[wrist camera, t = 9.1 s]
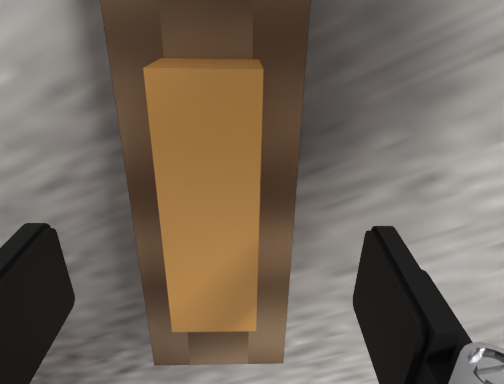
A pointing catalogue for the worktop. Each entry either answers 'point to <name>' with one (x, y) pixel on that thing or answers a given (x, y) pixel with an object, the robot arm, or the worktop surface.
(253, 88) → the orange block
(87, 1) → the worktop surface
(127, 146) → the rail
